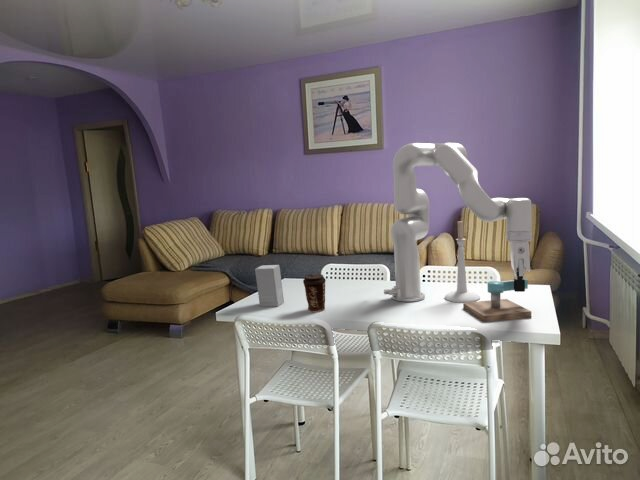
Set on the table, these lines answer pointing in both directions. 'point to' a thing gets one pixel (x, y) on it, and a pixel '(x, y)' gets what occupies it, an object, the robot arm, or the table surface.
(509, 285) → the teal lever handle
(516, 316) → the post block
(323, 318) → the table surface
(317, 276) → the coffee cup
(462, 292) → the candlestick
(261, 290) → the skincare box
